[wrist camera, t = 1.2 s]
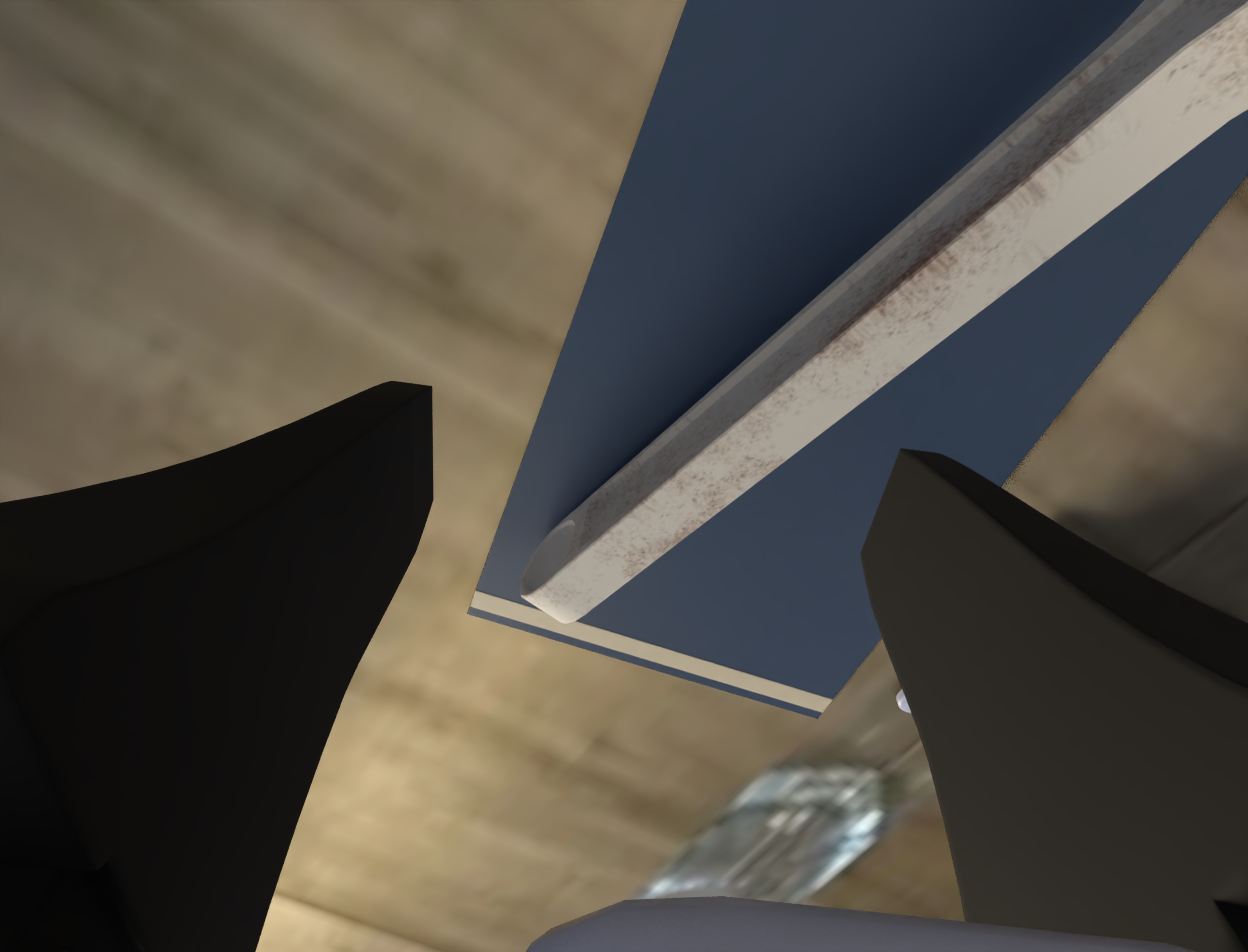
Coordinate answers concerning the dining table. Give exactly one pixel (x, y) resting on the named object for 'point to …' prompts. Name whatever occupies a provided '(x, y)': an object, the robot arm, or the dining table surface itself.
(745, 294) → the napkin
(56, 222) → the dining table surface
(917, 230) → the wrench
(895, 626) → the robot arm
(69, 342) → the dining table surface
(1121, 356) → the dining table surface
